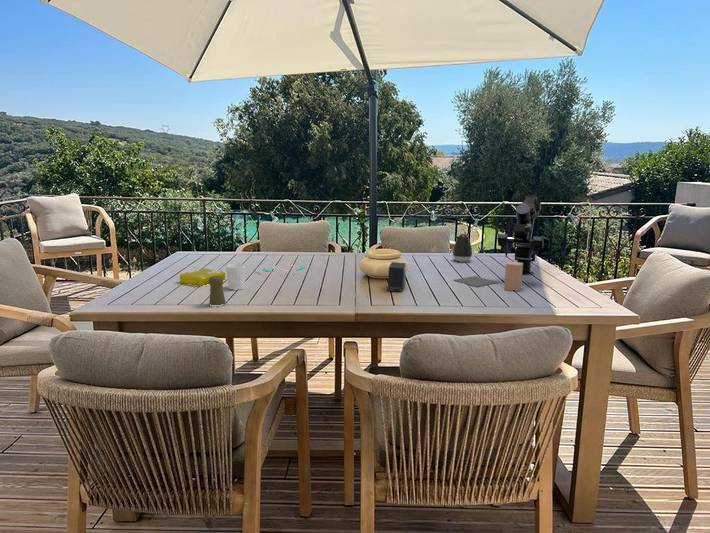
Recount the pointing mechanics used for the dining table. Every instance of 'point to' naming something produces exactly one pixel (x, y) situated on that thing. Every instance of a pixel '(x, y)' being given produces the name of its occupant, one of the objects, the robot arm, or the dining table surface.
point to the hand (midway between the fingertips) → (517, 257)
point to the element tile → (200, 276)
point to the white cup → (236, 276)
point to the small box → (396, 276)
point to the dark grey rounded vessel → (462, 248)
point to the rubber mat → (476, 281)
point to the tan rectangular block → (513, 276)
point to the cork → (216, 290)
